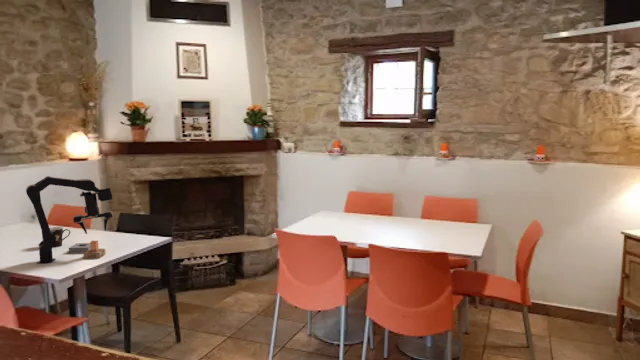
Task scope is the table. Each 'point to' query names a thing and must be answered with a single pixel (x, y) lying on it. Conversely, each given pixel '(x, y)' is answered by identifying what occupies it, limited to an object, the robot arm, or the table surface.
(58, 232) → the coffee mug
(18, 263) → the table surface
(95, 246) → the peg
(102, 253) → the tan flat square block
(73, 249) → the port
